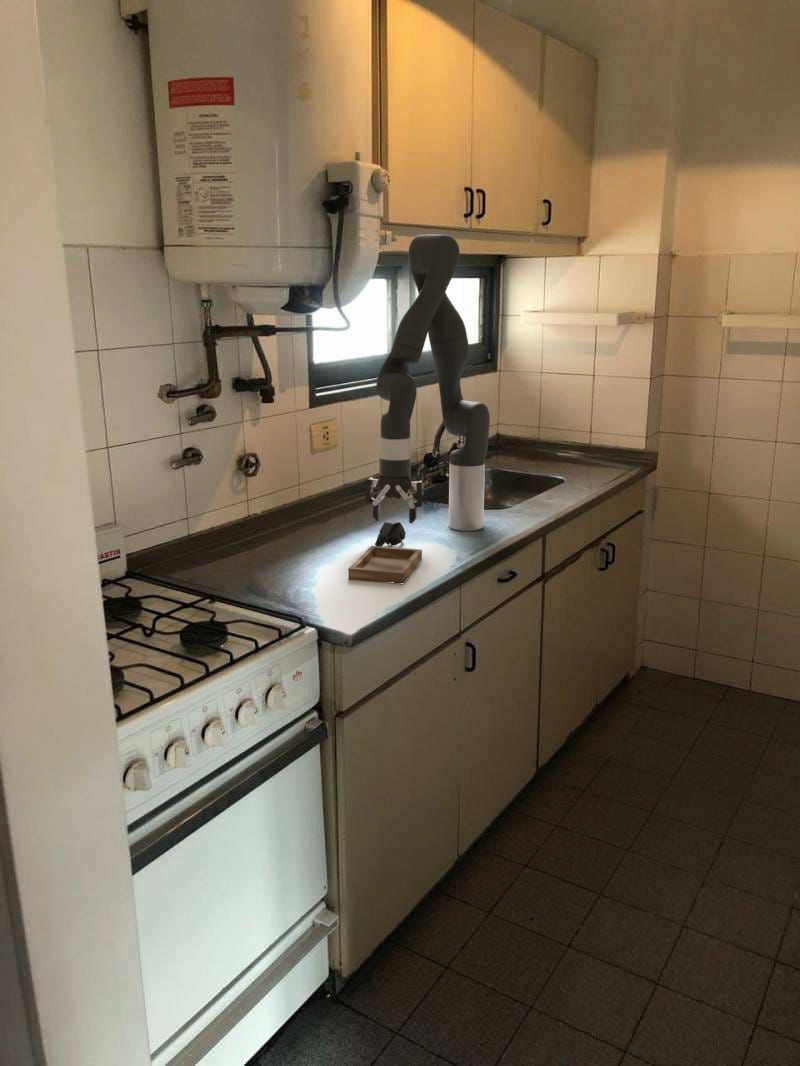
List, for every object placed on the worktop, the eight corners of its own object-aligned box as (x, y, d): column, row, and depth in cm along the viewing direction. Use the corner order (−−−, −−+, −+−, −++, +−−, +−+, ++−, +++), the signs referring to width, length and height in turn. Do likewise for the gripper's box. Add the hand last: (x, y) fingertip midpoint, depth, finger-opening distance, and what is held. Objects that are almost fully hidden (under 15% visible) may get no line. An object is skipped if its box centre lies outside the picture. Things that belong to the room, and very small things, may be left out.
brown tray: (371, 555, 202) (371, 545, 201) (422, 559, 199) (422, 549, 198) (348, 579, 186) (348, 568, 185) (403, 584, 183) (403, 573, 182)
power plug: (361, 550, 203) (384, 513, 209) (372, 570, 208) (393, 533, 214) (381, 554, 200) (403, 516, 206) (391, 574, 205) (412, 536, 211)
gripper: (427, 455, 206) (426, 519, 210) (370, 451, 209) (370, 515, 213) (420, 460, 198) (419, 527, 203) (362, 457, 202) (362, 523, 206)
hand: (394, 521), depth 208 cm, fingers open, 8 cm apart
